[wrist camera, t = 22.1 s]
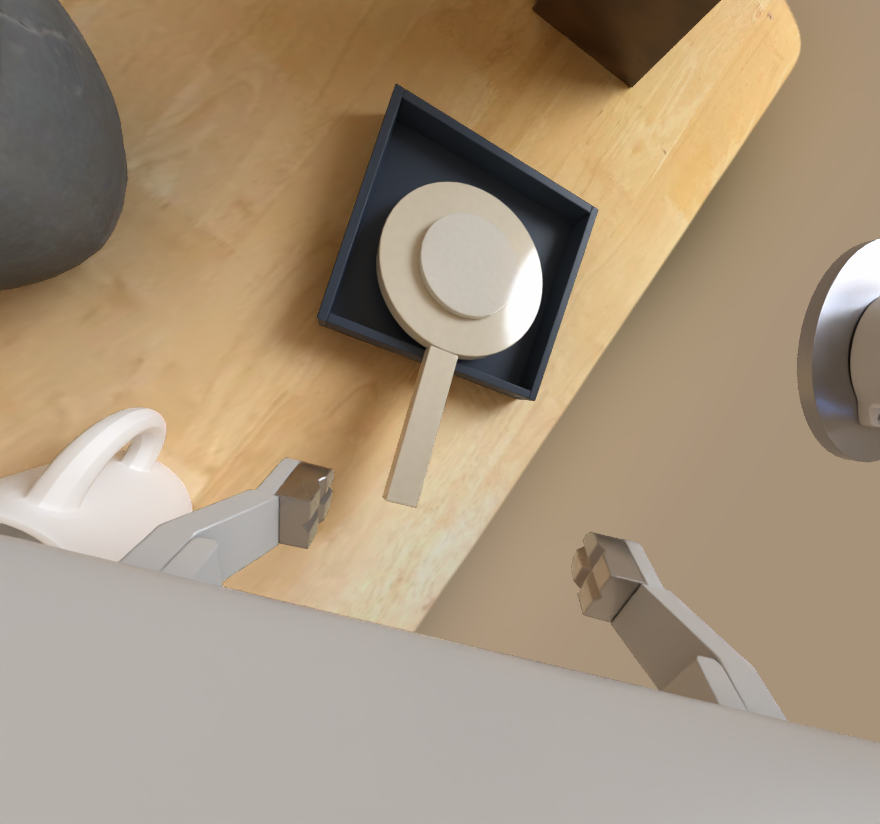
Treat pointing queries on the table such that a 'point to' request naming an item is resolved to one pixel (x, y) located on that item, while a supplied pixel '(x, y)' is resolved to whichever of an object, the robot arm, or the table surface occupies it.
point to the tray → (480, 165)
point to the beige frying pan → (451, 301)
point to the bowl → (54, 146)
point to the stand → (625, 29)
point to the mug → (97, 490)
